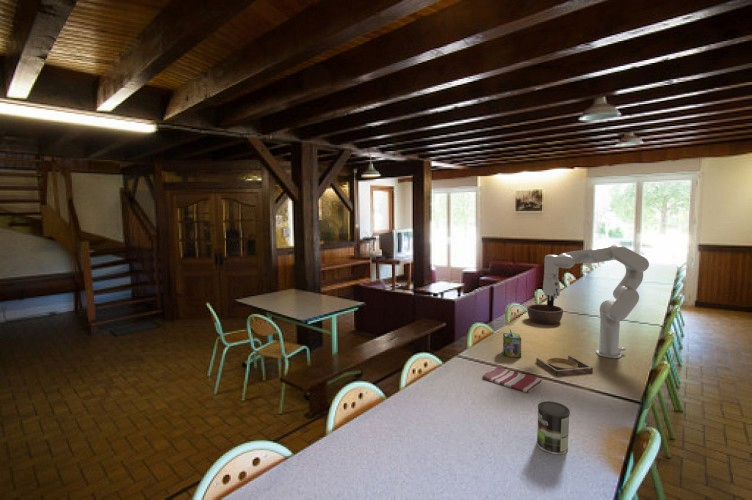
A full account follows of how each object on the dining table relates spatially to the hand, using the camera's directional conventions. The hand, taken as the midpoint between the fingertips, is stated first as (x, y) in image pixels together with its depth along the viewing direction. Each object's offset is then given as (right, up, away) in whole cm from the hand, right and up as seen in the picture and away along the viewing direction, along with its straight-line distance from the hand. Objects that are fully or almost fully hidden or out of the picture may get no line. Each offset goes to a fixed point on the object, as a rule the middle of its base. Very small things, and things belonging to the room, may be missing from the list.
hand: (550, 306), depth 227 cm
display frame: (-3, -29, -20) cm, 36 cm away
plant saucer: (-3, -30, -21) cm, 36 cm away
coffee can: (-40, -37, -89) cm, 105 cm away
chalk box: (-23, -28, -2) cm, 36 cm away
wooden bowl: (+25, -21, +66) cm, 73 cm away
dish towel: (-35, -32, -36) cm, 60 cm away
